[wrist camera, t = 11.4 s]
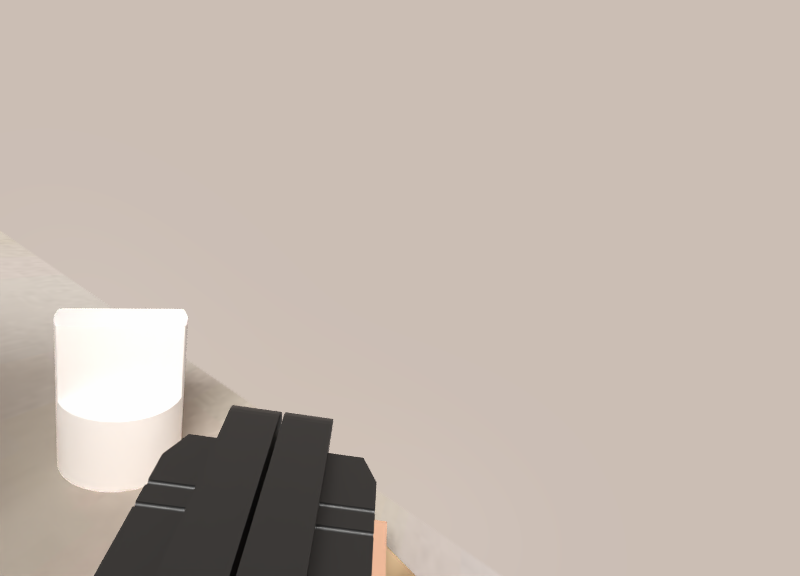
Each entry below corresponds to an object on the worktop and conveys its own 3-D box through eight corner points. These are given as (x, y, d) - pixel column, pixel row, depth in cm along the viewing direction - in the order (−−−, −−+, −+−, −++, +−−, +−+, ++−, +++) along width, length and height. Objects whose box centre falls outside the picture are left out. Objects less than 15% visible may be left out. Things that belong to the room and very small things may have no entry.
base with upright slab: (177, 420, 58) (184, 293, 54) (183, 486, 50) (192, 345, 46) (62, 426, 55) (60, 291, 51) (50, 498, 47) (46, 346, 43)
